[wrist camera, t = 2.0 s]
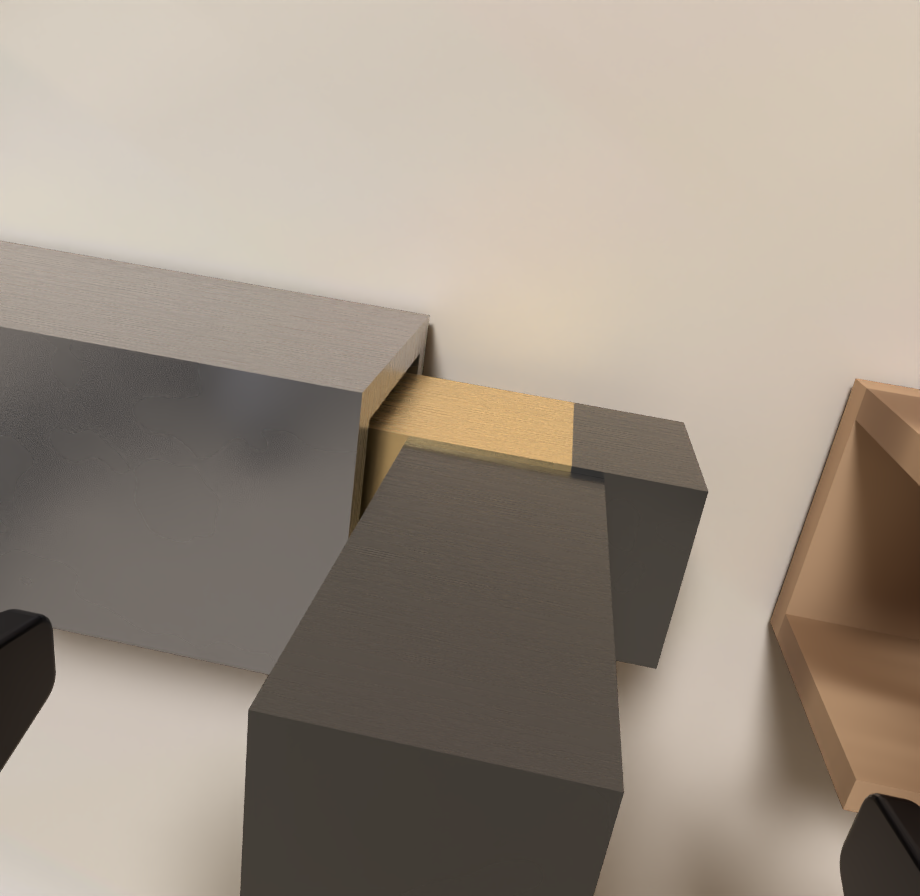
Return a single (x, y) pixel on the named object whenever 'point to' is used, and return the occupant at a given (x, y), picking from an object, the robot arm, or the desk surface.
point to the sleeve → (182, 449)
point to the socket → (861, 600)
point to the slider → (471, 652)
